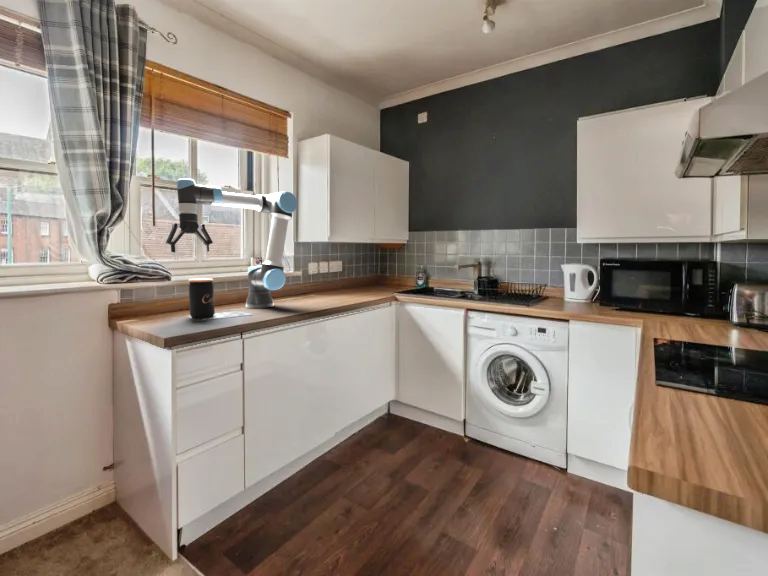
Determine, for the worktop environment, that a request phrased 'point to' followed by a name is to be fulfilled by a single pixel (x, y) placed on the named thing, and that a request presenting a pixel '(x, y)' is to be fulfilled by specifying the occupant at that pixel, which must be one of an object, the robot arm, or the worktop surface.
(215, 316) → the label board
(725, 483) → the worktop surface
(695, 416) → the worktop surface
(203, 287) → the coffee jar
